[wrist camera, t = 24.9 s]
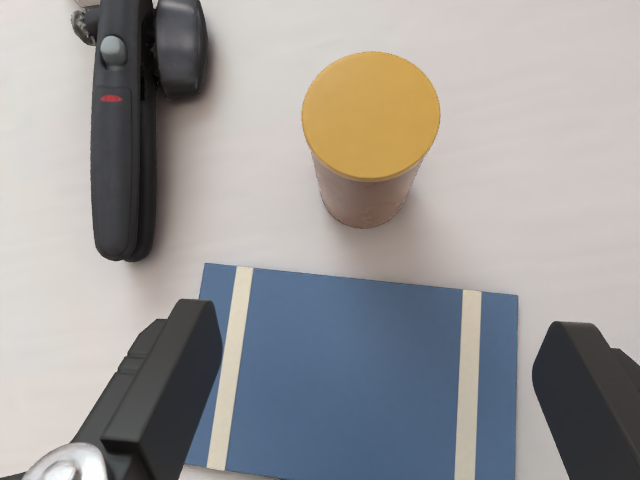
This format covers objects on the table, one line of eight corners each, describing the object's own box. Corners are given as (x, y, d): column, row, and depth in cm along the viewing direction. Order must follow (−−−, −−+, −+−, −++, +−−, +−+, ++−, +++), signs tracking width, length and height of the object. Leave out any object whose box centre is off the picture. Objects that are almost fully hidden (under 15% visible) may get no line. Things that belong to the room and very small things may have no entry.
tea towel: (515, 295, 23) (519, 295, 22) (511, 511, 21) (514, 515, 20) (206, 263, 24) (204, 262, 24) (174, 459, 22) (170, 462, 22)
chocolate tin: (427, 188, 24) (470, 113, 15) (360, 248, 24) (366, 206, 15) (365, 129, 25) (373, 26, 16) (301, 185, 25) (273, 111, 16)
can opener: (122, 15, 28) (66, -59, 23) (219, 13, 28) (186, -63, 22) (82, 265, 25) (5, 250, 19) (191, 269, 24) (144, 255, 19)
